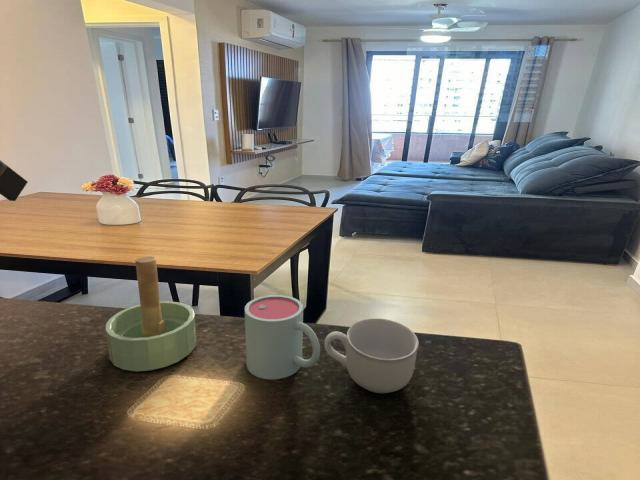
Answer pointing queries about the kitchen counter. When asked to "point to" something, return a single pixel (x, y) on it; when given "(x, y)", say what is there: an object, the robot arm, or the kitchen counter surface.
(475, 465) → the kitchen counter surface
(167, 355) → the bowl
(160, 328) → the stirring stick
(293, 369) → the mug
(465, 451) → the kitchen counter surface
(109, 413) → the kitchen counter surface
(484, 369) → the kitchen counter surface
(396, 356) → the teacup
